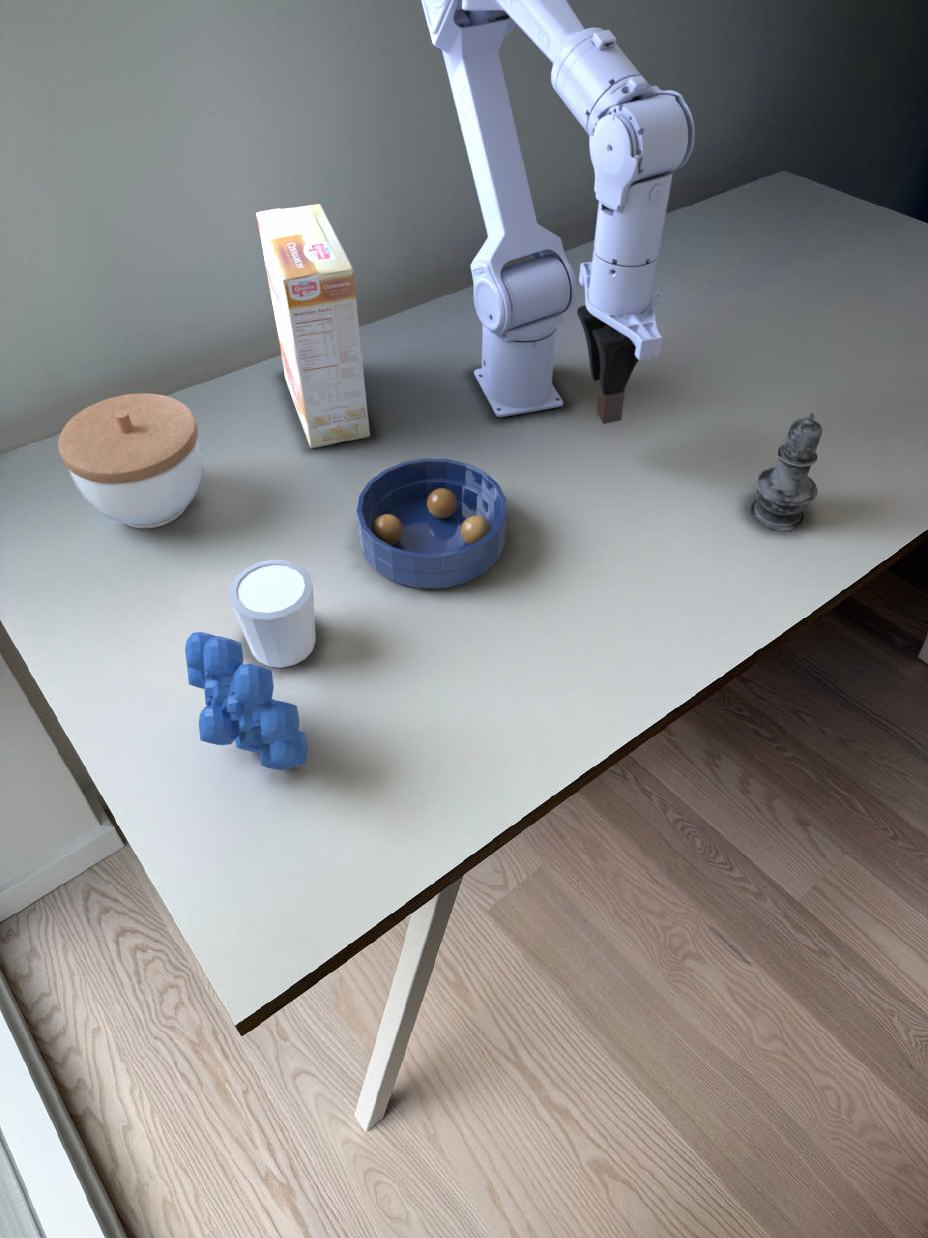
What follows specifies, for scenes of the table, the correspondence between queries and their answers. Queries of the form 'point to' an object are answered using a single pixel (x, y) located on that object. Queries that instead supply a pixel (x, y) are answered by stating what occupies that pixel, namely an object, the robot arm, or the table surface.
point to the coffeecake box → (316, 322)
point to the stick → (609, 405)
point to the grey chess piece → (789, 479)
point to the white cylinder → (275, 611)
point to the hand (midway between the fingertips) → (607, 384)
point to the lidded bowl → (135, 458)
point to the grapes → (242, 703)
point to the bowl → (431, 523)
